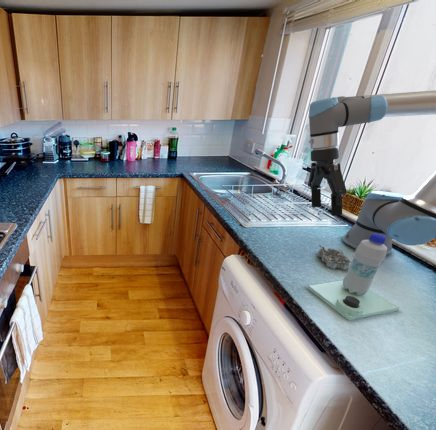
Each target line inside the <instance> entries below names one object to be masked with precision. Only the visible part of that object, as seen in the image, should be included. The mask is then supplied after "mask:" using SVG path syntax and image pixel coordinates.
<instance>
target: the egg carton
mask: <svg viewBox="0 0 436 430" xmlns="http://www.w3.org/2000/svg"><path fill="white" fill-rule="evenodd" d="M318 246H319V247H320V250H318V252H317V257H319V258H321V261H322V262H323V263H325V267H328V268H330V269H335V270H336V269H341V270H343V271H346V270H347V269H349V267H350V265H351V264H352V261H351V260H350V259H349V257H348V256H346V255H345V254H344V252H343V250H342V249H341V250H340V249H334V248H332V249H331V248H327V249H325V247H324V246H322V245H321V244H320V245H318Z"/></svg>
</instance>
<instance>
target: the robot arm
mask: <svg viewBox="0 0 436 430" xmlns="http://www.w3.org/2000/svg"><path fill="white" fill-rule="evenodd" d="M430 115H433V116H434V115H436V90H435V89H434V90H422V91H407V92H394V93H380V94H367V95H366V94H365V95H354V96H345V95H343V96H334V97H328V98H322V99H318V100H314V101H313V102H311V103H310V104H309V108H308V122H309V140H308V143H309V144H310V146H309V147H310V150H311V151H310V162H311V163H310V172H309V177H308V181H307V187H308V188H310V192H311V193H310V194H311V195H310V196H311V197H310V198H311V208H320V207H322V186H321V184H322V182H323V180H326V182H327V184H328V187H329V189H330V192H331V194H330V211H331V212H330V215H331V216H342V215H343V195H346V194H347V193H348V190H347V187H346V183H345V179H344V176H343V173H342V169H341V163H340V162H337V163H335V160H338V159H339V158H340V151H339V149H340V148H339V147H338V146H339V144H340V139H339V137H340V135H339V134H340V133H339V128H342V127H343V128H344V127H348V126H355V125H360V124H361V125H362V124H370V123H373V122H377V121H381V120H382V119H384V118H392V117H393V118H394V117H412V116H413V117H414V116H430ZM372 234H381V235H383V236H384V237H385V238H386V240H385V242H384V245H385V246H386V247H387V252H386V256H387V255H390V253H391V251H392V249H393V240H394V241H396V242H397V243H399V244H401V245H404V246H410V247H411V246H412V247H413V246H418V245H419V246H420V245H425V244H428V243H430V242H432V241H433V240H435V239H436V170H435V171H434V172H433V173H432V174H431V175H430V176H429V177H428V178H427V179H426V180H425V182H423V184H422V185H420V187H419V188H418V189H416V191H415V192H414V193H413V194H411V195H405V194H402V193H396V192H390V191H382V190H372V191H370V192H368V194H367V195H366V196H365V198H364V202H363V204H362V206H361V209H360V211H359V213H358V215H357V218H356V221H355V223H354V224H353V225H352V226H351V228H349V230H347V232H346V233H345V234H344V236H343V238H342V242H344V244H345V245H347V246H348V247H350V248H351V249H354V250H356V249H357V247H358V246H359V244H360V243H361V241H363V240H369V238H370V236H371V235H372Z"/></svg>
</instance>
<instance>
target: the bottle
mask: <svg viewBox="0 0 436 430" xmlns="http://www.w3.org/2000/svg"><path fill="white" fill-rule="evenodd" d="M385 240H386V238H385V237H384V236H383V235H381V234H372V235H371V236H370V238H369V240H363V241H361V243H360V244H359V246H358V247H357V249H355V252H354V257H353V259H352V261H351V262H352V263H350V265H349V267H348V271H347V272H346V274H345V276H344V278H343V279H342V280H343V288H344V289H345V290H348V289H349V293H353V292H356V295H361V294H362V295H363V294H365V293H367V291H368V289H370V287H371V285H372V282H373V279H374V277H375V275H376V273H377V271H378V269H379V267H380V265H382V264H383V262H384V260H386V256H387V255H386V252H387V247H386V246H385V245H384V242H385Z"/></svg>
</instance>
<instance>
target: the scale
mask: <svg viewBox="0 0 436 430" xmlns="http://www.w3.org/2000/svg"><path fill="white" fill-rule="evenodd" d="M343 280H344V279H341V280H335V281H330V282H324V283H318V284H310V285H308V286H307V289H308V290H309V291H311V293H313V294H314V295H315V296H317V297H318V298H319V299H321V300H322V301H323V302H324V303H325V304H327V305H328V306H329V307H331V308H332V309H333V310H335V311H336V312H337V313H338V314H340V315H341V316H343V317H344V319H347V320H348V321H353V320H357V319H363V318H368V317H373V316H378V315H382V314H383V315H384V314H389V313H393V312H397V311H399V309H400V307H399V306H397V305H396V304H394V303H393V302H391V301H389V300H388V299H386V298H385V297H383V296H381V295H380V294H378V293H377V292H375V291H373V290H371V288H369V289H368V291H367V293H365V294H363V295H362V294H361V295H356V292H353V293H349V289H348V290H345V289H344V288H343ZM346 296H352V297H355V298H357V299H358V300H359V301H360V303H359V305H358V307H357V308H352V307H349V306H347V305H346V304H344V300H345V298H346Z"/></svg>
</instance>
